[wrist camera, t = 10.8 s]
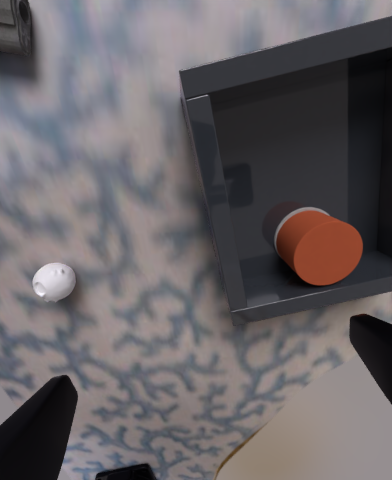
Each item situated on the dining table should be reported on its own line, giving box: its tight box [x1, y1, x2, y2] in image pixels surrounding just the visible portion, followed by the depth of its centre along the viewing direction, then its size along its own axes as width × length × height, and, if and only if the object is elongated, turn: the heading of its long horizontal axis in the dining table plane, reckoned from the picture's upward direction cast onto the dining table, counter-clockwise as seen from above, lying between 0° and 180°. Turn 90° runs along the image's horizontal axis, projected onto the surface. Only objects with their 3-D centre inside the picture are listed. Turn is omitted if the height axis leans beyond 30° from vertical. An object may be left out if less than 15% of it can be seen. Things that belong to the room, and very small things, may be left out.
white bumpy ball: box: [33, 263, 76, 302], centre depth 17 cm, size 3×3×3 cm
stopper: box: [276, 210, 363, 285], centre depth 16 cm, size 4×4×3 cm
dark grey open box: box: [179, 16, 392, 326], centre depth 15 cm, size 15×14×4 cm
